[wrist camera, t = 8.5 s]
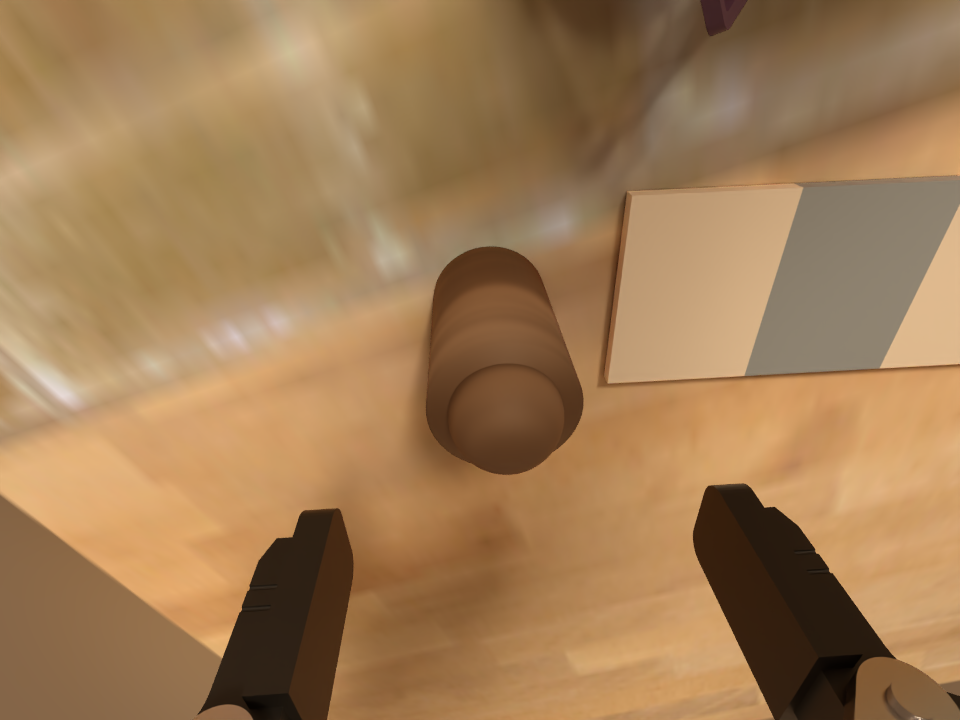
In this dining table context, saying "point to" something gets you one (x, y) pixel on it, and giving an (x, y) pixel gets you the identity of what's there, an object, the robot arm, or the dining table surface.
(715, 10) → the game card
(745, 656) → the robot arm
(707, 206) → the board
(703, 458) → the dining table surface
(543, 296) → the brown cylinder
